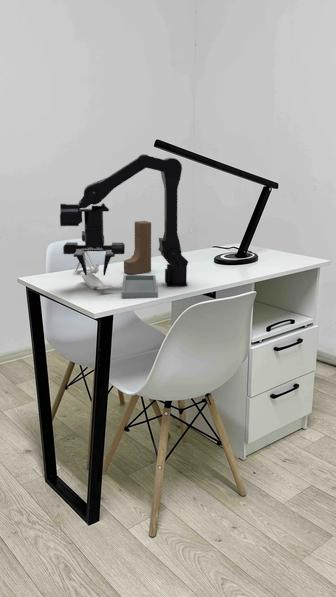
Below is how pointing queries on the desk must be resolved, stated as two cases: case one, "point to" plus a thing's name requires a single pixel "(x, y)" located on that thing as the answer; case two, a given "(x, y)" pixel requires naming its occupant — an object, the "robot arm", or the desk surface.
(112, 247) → the robot arm
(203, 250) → the desk surface
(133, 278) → the razor tray
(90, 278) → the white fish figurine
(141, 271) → the brown boot
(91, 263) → the portable electronic device stand
